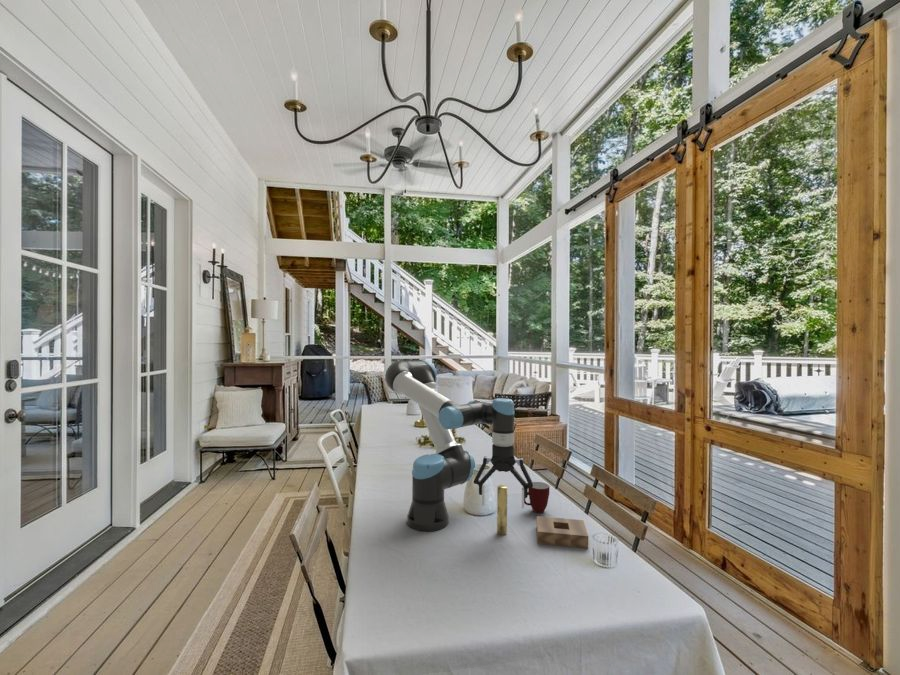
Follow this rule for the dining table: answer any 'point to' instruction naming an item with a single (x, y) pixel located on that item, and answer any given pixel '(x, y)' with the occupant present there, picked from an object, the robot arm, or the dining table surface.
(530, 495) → the mug
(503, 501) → the brass peg
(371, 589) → the dining table surface
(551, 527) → the socket block
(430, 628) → the dining table surface
